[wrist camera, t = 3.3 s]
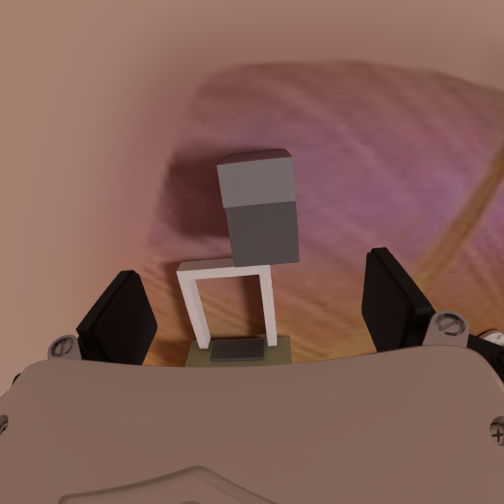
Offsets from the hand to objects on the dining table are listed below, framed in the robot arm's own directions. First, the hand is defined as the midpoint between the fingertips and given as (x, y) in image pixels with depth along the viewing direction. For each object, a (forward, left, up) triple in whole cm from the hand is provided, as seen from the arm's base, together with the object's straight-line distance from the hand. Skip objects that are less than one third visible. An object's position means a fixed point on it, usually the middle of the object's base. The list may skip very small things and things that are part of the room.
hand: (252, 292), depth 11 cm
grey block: (0, 0, -16) cm, 16 cm away
